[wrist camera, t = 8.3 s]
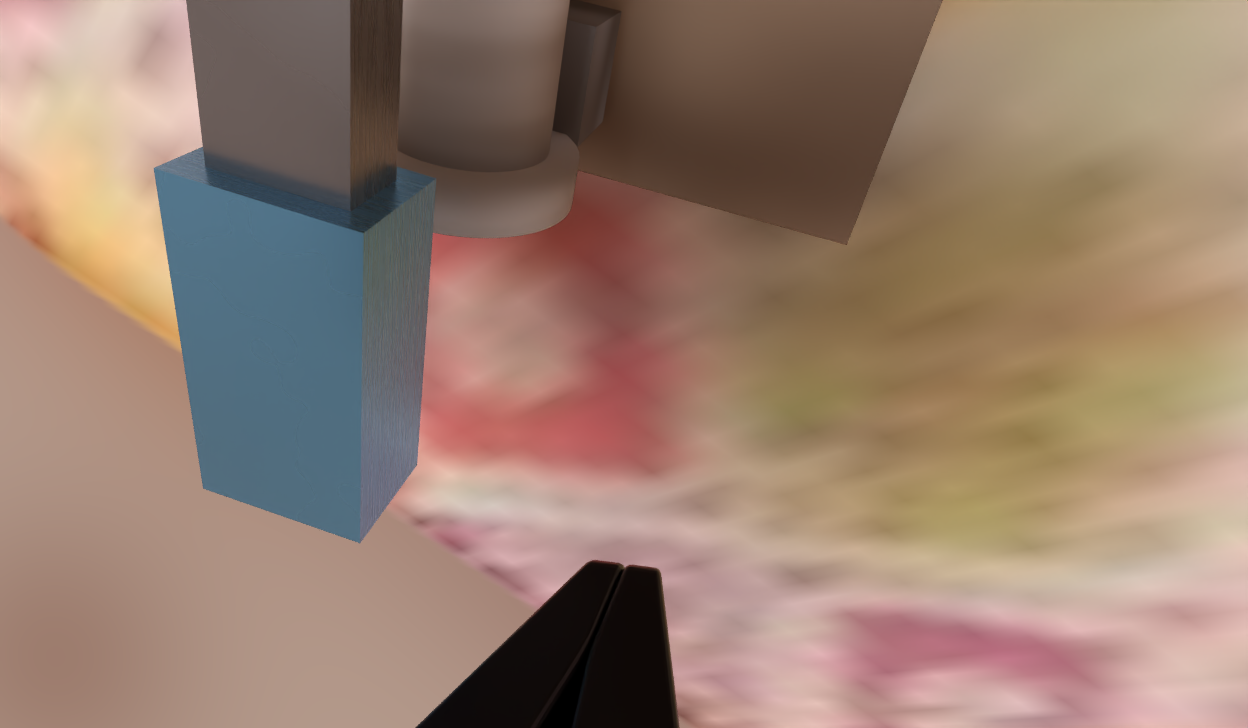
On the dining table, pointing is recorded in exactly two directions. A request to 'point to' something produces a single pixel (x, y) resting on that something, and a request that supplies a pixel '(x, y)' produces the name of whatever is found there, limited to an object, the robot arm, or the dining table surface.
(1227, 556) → the dining table surface
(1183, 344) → the dining table surface
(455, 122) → the valve board
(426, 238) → the lever
